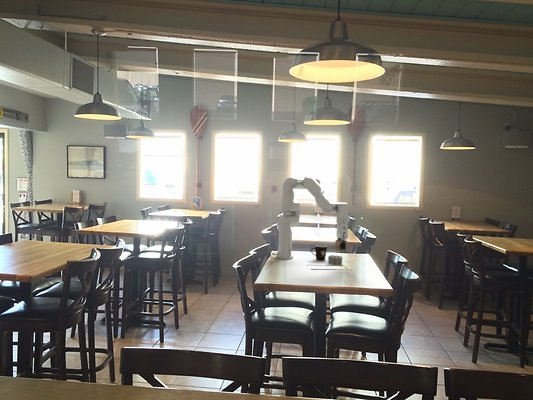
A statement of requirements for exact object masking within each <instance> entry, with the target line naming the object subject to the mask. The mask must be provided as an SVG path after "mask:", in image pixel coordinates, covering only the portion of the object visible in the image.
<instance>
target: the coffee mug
mask: <svg viewBox="0 0 533 400" xmlns="http://www.w3.org/2000/svg"><path fill="white" fill-rule="evenodd" d="M327 249H328V245H321V244H316V245H315V246H314V247H313V248H312V247H311V249H310V252H311V254H313V256H315V259H316V261H326V255H327ZM313 250H315V253H314V252H313Z"/></svg>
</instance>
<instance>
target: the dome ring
mask: <svg viewBox="0 0 533 400" xmlns="http://www.w3.org/2000/svg"><path fill="white" fill-rule="evenodd" d="M333 255H334V254H330V255H328V260H327V264H328V265H343V256H341V255H337V256H338V257H332V256H333Z"/></svg>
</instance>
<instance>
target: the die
mask: <svg viewBox="0 0 533 400" xmlns="http://www.w3.org/2000/svg"><path fill="white" fill-rule="evenodd" d="M342 241H343V239H342ZM334 248H335V250H338V251H347V250H348V240H346V247H345V249H341V240H337V239H335V247H334Z"/></svg>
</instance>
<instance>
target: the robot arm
mask: <svg viewBox="0 0 533 400" xmlns="http://www.w3.org/2000/svg"><path fill="white" fill-rule="evenodd" d="M294 189H295V190H305V189H306V190H307V191H308V192H309V193H310V194H311V195H312V196H313V198H314V200H315V203H316V205H317V206H318V207H319V208H320V210H321V211H323V212H324V213H326V214H336V224H337V225H336V237H337V239H336V240H341V249H345V247H346V241H347V239H348V238H349V230H348V229H349V228H348V224H349V203H347V202H337V201H329V200H328V199H327V198H326V196H325V195H324V193H325V189H324V187H322V186H321V181H320V178H318V177H317V176H312V175H308V176H303V177H302V176H291V177H287V178H286V179H285V180H284V181H283V184H282V196H281V211H282V212H283V213H285V214H283V215H280V216H279V218H278V222H277V223H278V247H277V248H278V249H277V251H275V252H274V251H271V255H272V256H273V255H274V256H275V258H277V259H280V260H291V259H293V258H294V256H293V255H292V246H293V245H292V244H293V243H292V241H293V231H292V228H294V227H297V226H298V225H299V223H300V217H301V216H300V215H301V205H300V202H299V201H298V200H297V199H295V192H294ZM342 240H343V241H342Z"/></svg>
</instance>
